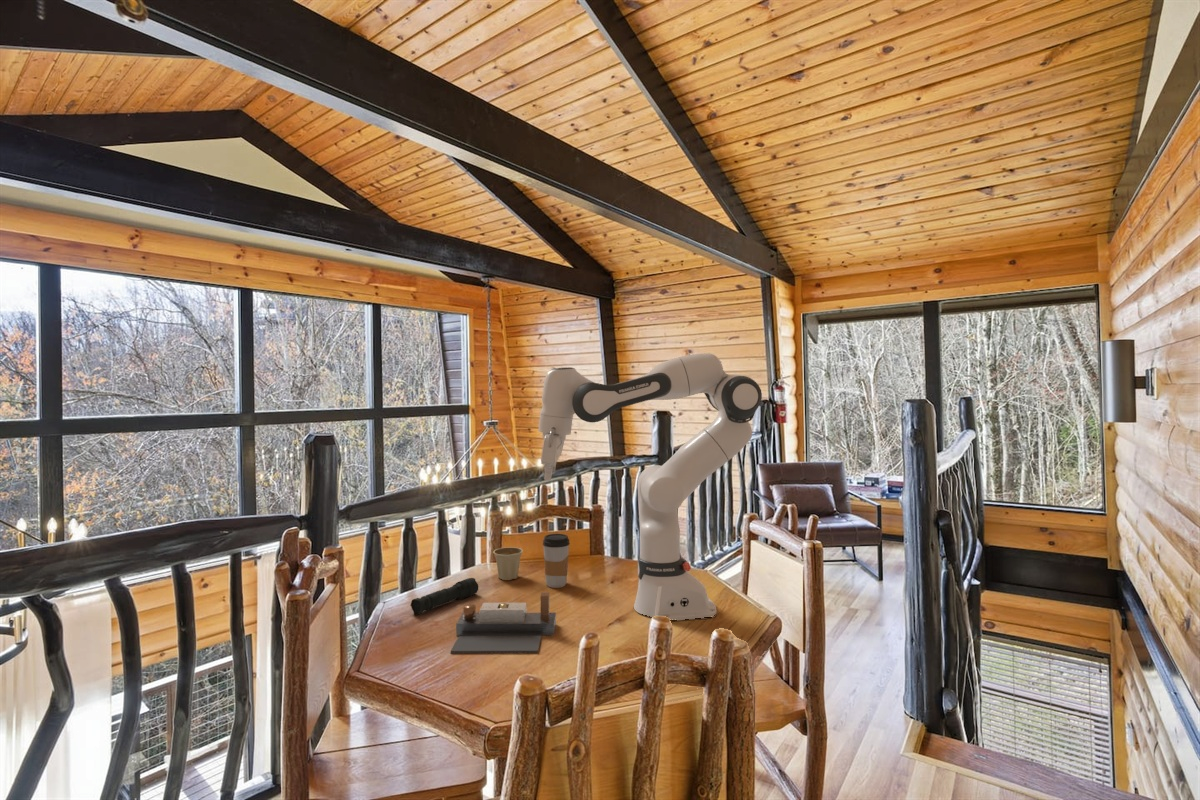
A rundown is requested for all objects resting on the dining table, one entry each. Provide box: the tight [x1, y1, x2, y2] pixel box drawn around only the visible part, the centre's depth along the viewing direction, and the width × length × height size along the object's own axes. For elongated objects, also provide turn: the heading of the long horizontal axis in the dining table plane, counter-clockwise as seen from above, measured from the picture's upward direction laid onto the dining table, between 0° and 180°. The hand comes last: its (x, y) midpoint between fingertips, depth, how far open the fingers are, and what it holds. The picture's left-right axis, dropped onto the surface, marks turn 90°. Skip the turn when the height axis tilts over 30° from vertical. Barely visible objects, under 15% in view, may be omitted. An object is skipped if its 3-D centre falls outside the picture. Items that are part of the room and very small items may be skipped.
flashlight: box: [410, 577, 479, 616], centre depth 163 cm, size 5×21×5 cm, turn 145°
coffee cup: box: [542, 533, 570, 589], centre depth 179 cm, size 8×8×15 cm
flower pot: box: [493, 546, 524, 581], centre depth 186 cm, size 9×9×9 cm
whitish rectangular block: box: [478, 602, 527, 622], centre depth 145 cm, size 11×5×3 cm, turn 90°
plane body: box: [455, 592, 557, 637], centre depth 145 cm, size 24×7×9 cm, turn 90°
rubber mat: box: [450, 636, 542, 654], centre depth 136 cm, size 20×8×1 cm, turn 90°
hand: (549, 476), depth 156 cm, fingers open, 8 cm apart
